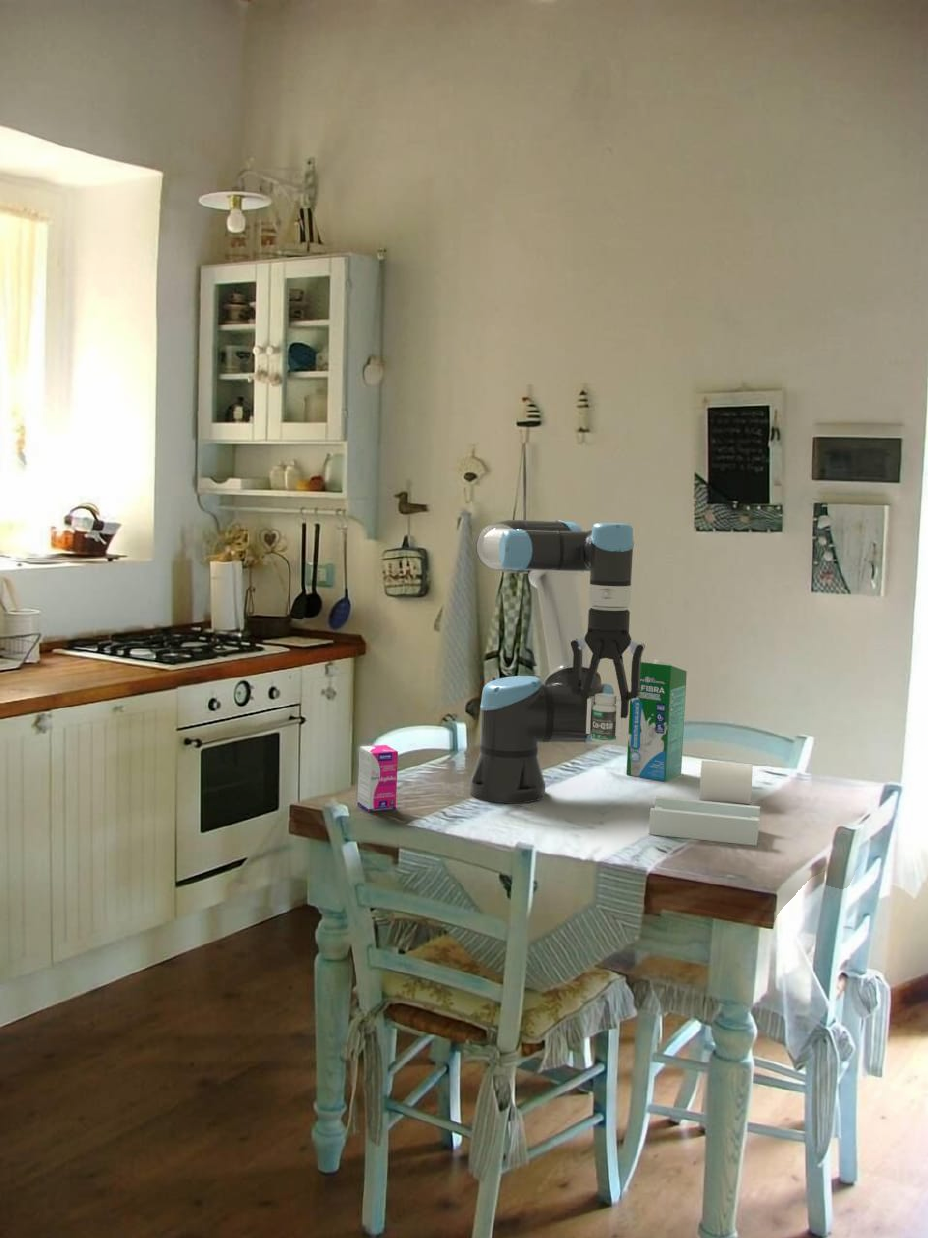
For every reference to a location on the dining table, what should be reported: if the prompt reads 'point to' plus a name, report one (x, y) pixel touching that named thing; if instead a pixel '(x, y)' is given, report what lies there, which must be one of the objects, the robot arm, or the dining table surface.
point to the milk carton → (657, 722)
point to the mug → (726, 782)
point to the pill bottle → (604, 718)
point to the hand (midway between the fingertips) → (603, 733)
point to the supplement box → (377, 778)
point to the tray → (705, 820)
